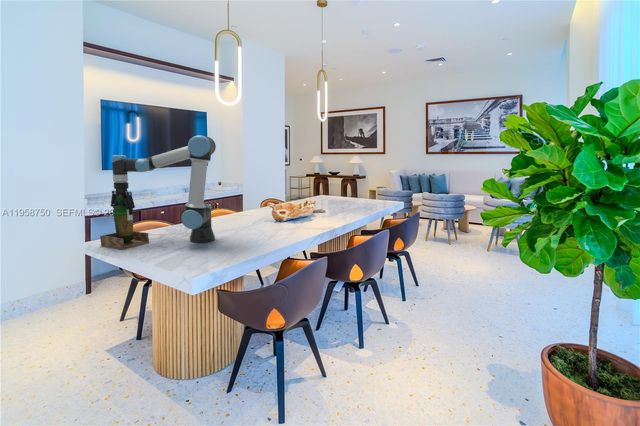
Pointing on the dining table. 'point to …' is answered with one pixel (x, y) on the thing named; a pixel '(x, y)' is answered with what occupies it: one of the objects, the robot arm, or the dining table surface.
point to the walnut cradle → (118, 243)
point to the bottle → (122, 221)
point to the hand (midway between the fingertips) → (123, 219)
